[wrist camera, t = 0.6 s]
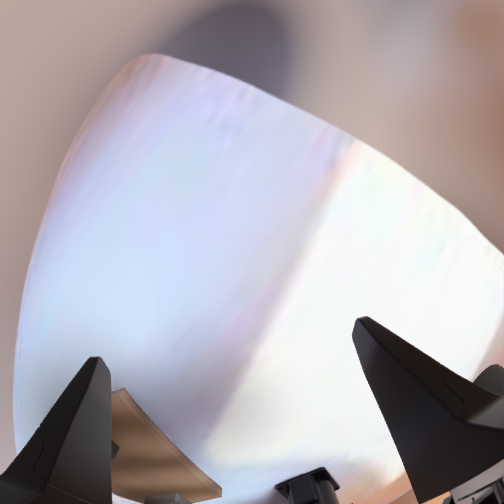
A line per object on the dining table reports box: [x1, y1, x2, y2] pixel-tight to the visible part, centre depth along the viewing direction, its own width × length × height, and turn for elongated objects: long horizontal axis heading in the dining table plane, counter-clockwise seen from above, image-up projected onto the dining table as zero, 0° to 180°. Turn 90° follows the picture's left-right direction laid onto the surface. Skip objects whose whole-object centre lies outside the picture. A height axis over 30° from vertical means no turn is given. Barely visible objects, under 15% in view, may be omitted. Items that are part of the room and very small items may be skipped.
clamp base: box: [111, 388, 222, 504], centre depth 23 cm, size 18×14×6 cm
